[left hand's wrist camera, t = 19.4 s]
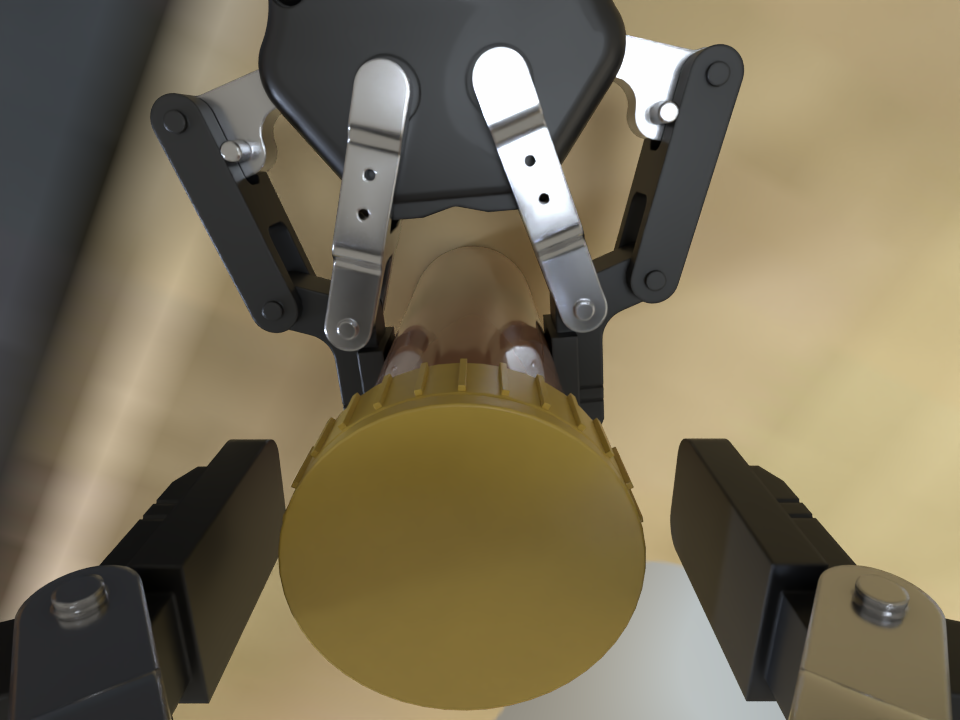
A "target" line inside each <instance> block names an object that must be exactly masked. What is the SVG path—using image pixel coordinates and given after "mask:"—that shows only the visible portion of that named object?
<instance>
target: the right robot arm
mask: <svg viewBox="0 0 960 720" xmlns="http://www.w3.org/2000/svg"><path fill="white" fill-rule="evenodd" d="M268 1H269V12H268V22H267V27H266V32H265V36H264V39H263V42H262V45H261V48H260V52H259V60H258V67H259V69H258V70H256V71H254V72H252V73H249V74H247V75H245V76H243V77H240V78H238V79H236V80H233V81H231V82H229V83H227V84H224V85H222V86H220V87H218V88H215V89H213V90H211V91H209V92H206V93H204V94H202V95H199V96H191V95H184V94H176V93H169V94H165V95H163V96H161V97H160V98H158V99H157V100H156V101H155V103H154V104H153V106H152V109H151V115H150V119H151V125H152V128H153V130H154V132H155V134H156V136H157V138H158V140H159V142H160V144H161V146H162V148H163V149H164V151H165V153H166V155H167V157H168V159H169V161H170V163H171V165H172V167H173V168H174V170H175V172H176V174H177V176H178V178H179V180H180V182H181V184H182V185H183V187H184V189H185V191H186V193H187V195H188V197H189V199H190V201H191V203H192V204H193V206H194V208H195V210H196V212H197V214H198V216H199V218H200V220H201V221H202V223H203V225H204V227H205V229H206V231H207V233H208V235H209V237H210V239H211V240H212V242H213V244H214V246H215V248H216V250H217V252H218V254H219V256H220V257H221V259H222V261H223V263H224V265H225V267H226V269H227V271H228V273H229V274H230V276H231V278H232V280H233V282H234V284H235V286H236V288H237V290H238V292H239V293H240V295H241V297H242V299H243V301H244V303H245V305H246V307H247V309H248V310H249V312H250V314H251V316H252V318H253V320H254V321H255V323H256V324H257V325H258V326H259V327H261V328H262V329H264V330H266V331H268V332H272V333H281V332H285V331H287V330H293V331H297V332H300V333H304V334H308V335H312V336H315V337H317V338H319V339H321V340H322V341H324V342H325V343H326V344H327V345H328V346H329V347H330V349H331V350H332V352H333V354H334V357H335V362H336V368H337V373H338V379H339V385H340V391H341V397H342V402H343V405H344V407H343V408H344V410H345V409H346V408H347V407H348V405H349V402H350V400H351V398H352V396H353V395H355V394H356V393H358V394H359V395H360V396H361V395H363V394H364V393H366V392H367V391H369V390H370V389H372V388H373V387H374V385H375V383H376V381H377V378H378V376H379V374H380V371H381V369H382V367H383V364H384V362H385V360H386V357H387V355H388V352H389V350H390V348H391V345H392V343H393V341H394V338H395V333H394V327H385V323H384V316H383V313H384V310H385V305H386V299H387V294H388V288H389V282H390V277H391V271H392V266H393V260H394V255H395V251H396V248H397V244H398V240H399V236H400V231H401V225H402V220H403V219H412V218H424V217H426V216H429V215H432V214H434V213H437V212H440V211H442V210H445V209H448V208H450V207H454V206H458V207H464V208H469V209H475V210H480V211H486V212H494V211H505V210H517V209H518V211H519V214H520V216H521V219H522V221H523V224H524V227H525V229H526V232H527V234H528V237H529V239H530V242H531V244H532V247H533V249H534V252H535V255H536V257H537V260H538V263H539V265H540V268H541V270H542V273H543V276H544V278H545V281H546V283H547V286H548V289H549V291H550V310H551V314H549V315H543V320H544V334H545V337H546V340H547V343H548V346H549V349H550V352H551V355H552V358H553V361H554V364H555V367H556V370H557V373H558V376H559V379H560V382H561V385H562V388H563V391H564V394H565V395H566V396H568V395H569V394H570V393H571V394H572V395H574V396H575V398H576V400H577V403H578V406H580V407H581V408H582V409H583V410H584V412H585V413H586V414H587V415H588V416H589V417H590V418H591V419H592V420H594V419H596V418H597V419H598V420H599V421H600V422H601V425H602V422H603V420H604V401H603V398H604V397H603V345H602V338H603V331H604V328H605V326H606V324H607V323H608V321H609V320H610V319H611V318H612V317H613V316H614V315H615V314H617V313H618V312H620V311H622V310H624V309H627V308H629V307H631V306H634V305H636V304H638V303H640V302H646V303H659V302H662V301H664V300H666V299H668V298H669V297H670V296H671V295H672V294H673V293H674V292H675V290H676V288H677V286H678V283H679V280H680V277H681V273H682V270H683V267H684V264H685V261H686V258H687V254H688V251H689V248H690V245H691V242H692V239H693V235H694V232H695V229H696V226H697V223H698V219H699V216H700V213H701V210H702V207H703V204H704V200H705V197H706V194H707V191H708V188H709V185H710V181H711V178H712V175H713V172H714V169H715V166H716V162H717V159H718V156H719V153H720V150H721V146H722V143H723V140H724V137H725V134H726V131H727V127H728V124H729V121H730V118H731V115H732V112H733V108H734V105H735V102H736V99H737V96H738V92H739V89H740V86H741V83H742V80H743V76H744V65H743V61H742V58H741V56H740V55H739V53H738V52H737V51H736V50H735V49H734V48H732V47H730V46H728V45H724V44H717V45H713V46H710V47H704V48H701V49H698V50H690V49H686V48H681V47H677V46H673V45H668V44H664V43H659V42H655V41H651V40H646V39H642V38H638V37H633V36H629V35H626V31H625V26H624V23H623V20H622V17H621V15H620V13H619V11H618V9H617V8H616V6H615V4H614V2H613V0H268ZM612 82H615V83H617V84H618V85H619V86H620V87H621V88H622V89H623V90H624V92H625V94H626V97H627V101H628V109H627V122H628V126H629V128H630V130H631V131H632V132H633V133H634V134H635V135H636V136H638V137H639V138H642V139H644V142H643V146H642V150H641V153H640V157H639V161H638V164H637V168H636V172H635V175H634V179H633V183H632V186H631V190H630V194H629V197H628V201H627V204H626V208H625V212H624V215H623V219H622V223H621V226H620V230H619V234H618V237H617V241H616V245H615V248H614V251H612V252H610V253H607V254H605V255H603V256H601V257H599V258H596V259H594V260H592V259H591V256H590V253H589V250H588V248H587V245H586V242H585V238H584V231H583V228H582V225H581V222H580V219H579V216H578V213H577V210H576V207H575V204H574V202H573V199H572V196H571V193H570V190H569V187H568V185H567V182H566V179H565V176H564V173H563V170H562V168H561V165H562V163H563V161H564V160H565V158H566V157H567V155H568V153H569V152H570V150H571V148H572V147H573V145H574V144H575V142H576V140H577V139H578V137H579V136H580V134H581V132H582V131H583V129H584V128H585V126H586V124H587V123H588V121H589V119H590V118H591V116H592V115H593V113H594V111H595V110H596V108H597V107H598V105H599V103H600V102H601V100H602V98H603V97H604V95H605V94H606V92H607V90H608V89H609V87H610V86H611V84H612ZM280 114H282V115H283V116H284V117H285V118H286V119H287V120H288V121H289V123H290V124H291V125H292V126H293V127H294V128H295V129H296V130H297V131H298V132H299V134H300V135H301V136H302V137H303V138H304V139H305V140H306V141H307V142H308V144H309V145H310V146H311V147H312V148H313V149H314V150H315V151H316V152H317V154H318V155H319V156H320V157H321V158H322V159H323V160H324V161H325V162H326V163H327V165H328V166H329V167H330V168H331V169H332V170H333V171H334V172H335V173H336V175H337V176H338V177H339V178H340V179H341V180H342V183H341V190H340V197H339V203H338V210H337V217H336V224H335V231H334V238H333V245H332V256H333V259H334V264H333V272H332V278H331V280H328V279H324V278H321V277H317V276H316V275H315V273H314V271H313V269H312V266H311V264H310V262H309V260H308V258H307V256H306V254H305V252H304V250H303V248H302V246H301V244H300V241H299V239H298V237H297V235H296V233H295V231H294V229H293V227H292V225H291V223H290V221H289V219H288V216H287V214H286V212H285V210H284V208H283V206H282V204H281V202H280V200H279V198H278V196H277V194H276V191H275V189H274V187H273V185H272V183H271V181H270V179H269V177H268V175H267V173H266V172H267V171H268V170H270V169H271V168H272V167H273V165H274V164H275V162H276V159H277V146H276V143H275V140H274V135H273V129H274V124H275V121H276V119H277V118H278V116H279V115H280Z"/></svg>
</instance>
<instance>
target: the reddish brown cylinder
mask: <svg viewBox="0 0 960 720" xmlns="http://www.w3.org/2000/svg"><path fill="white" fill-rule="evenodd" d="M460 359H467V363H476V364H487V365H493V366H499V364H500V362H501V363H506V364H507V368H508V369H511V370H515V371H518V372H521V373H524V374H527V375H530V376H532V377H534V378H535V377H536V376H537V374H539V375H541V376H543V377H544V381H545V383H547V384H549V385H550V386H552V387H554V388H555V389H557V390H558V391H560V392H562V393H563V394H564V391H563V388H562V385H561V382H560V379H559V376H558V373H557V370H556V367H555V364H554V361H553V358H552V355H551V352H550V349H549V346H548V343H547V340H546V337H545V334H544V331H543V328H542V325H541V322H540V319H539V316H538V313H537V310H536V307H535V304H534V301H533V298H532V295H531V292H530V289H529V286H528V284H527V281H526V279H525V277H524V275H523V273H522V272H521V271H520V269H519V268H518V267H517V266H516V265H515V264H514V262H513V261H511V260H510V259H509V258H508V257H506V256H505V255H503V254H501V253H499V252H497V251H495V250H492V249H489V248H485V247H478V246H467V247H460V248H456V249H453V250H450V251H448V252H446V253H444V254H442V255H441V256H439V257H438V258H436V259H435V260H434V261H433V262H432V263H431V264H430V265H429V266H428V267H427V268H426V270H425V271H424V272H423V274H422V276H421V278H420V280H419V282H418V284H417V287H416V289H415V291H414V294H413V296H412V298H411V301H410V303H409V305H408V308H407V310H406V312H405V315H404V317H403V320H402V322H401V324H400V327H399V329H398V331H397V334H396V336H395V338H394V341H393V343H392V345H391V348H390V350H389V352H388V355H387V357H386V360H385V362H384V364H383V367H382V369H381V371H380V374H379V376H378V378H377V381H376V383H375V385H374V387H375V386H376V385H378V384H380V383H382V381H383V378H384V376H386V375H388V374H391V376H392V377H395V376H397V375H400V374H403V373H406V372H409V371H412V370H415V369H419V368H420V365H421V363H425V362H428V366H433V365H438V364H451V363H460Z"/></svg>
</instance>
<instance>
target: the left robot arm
mask: <svg viewBox="0 0 960 720" xmlns="http://www.w3.org/2000/svg"><path fill="white" fill-rule="evenodd" d="M285 511H286V509H285V500H284V492H283V484H282V476H281V468H280V460H279V453H278V448H277V445H276V443H275V441H274V440H229V441H228V442H227V443H226V444H225V445H224V446H223V448H222V449H221V450H220V451H219V452H218V454H217V455H216V456H215V457H214V459H213V460H212V461H211V462H210V463H209V465H208V466H207V467H196V468H195V469H193V470H192V471H190V472H188V473H187V474H185V475H183V476H182V477H180V478H178V479H177V480H175V481H174V482H172V483H171V484H170V486H169V487H168V488H167V489H166V490H165V491H164V492H163V494H162V495H161V496H160V497H159V498H158V499H157V503H156V504H153V505H152V506H151V507H150V508H149V509H148V511H147V512H146V513H145V514H144V515H143V519H140V520H139V521H138V522H137V523H136V524H135V525H134V527H133V528H132V529H131V530H130V531H129V532H128V533H127V534H126V536H125V537H124V538H123V539H122V540H121V541H120V542H119V544H118V545H117V546H116V547H115V548H114V549H113V550H112V552H111V553H110V554H109V555H108V556H107V557H106V558H105V560H104V561H103V562H102V563H101V564H100V565H99V566H94V567H89V568H85V569H81V570H78V571H75V572H72V573H69V574H67V575H64V576H62V577H60V578H58V579H56V580H54V581H52V582H50V583H48V584H47V585H45V586H44V587H42V588H40V589H39V590H38V591H36V592H35V593H34V594H33V595H31V596H30V597H29V598H28V599H27V600H26V601H25V602H24V603H23V605H22V606H21V607H20V608H19V610H18V612H17V614H16V616H15V619H12V620H8V621H4V622H0V720H173V717H172V714H173V712H174V711H175V709H176V707H177V705H178V703H209V702H210V700H211V698H212V696H213V693H214V691H215V689H216V687H217V685H218V683H219V681H220V679H221V677H222V674H223V672H224V670H225V668H226V666H227V664H228V662H229V660H230V658H231V656H232V653H233V651H234V649H235V647H236V645H237V643H238V641H239V639H240V637H241V634H242V632H243V630H244V628H245V626H246V624H247V622H248V620H249V618H250V615H251V613H252V611H253V609H254V607H255V605H256V603H257V601H258V599H259V597H260V594H261V592H262V590H263V588H264V586H265V584H266V582H267V580H268V578H269V575H270V573H271V571H272V569H273V567H274V565H275V563H276V561H277V559H278V550H279V539H280V531H281V527H282V523H283V521H282V519H283V515H284V513H285ZM670 525H671V535H672V540H673V544H674V547H675V550H676V552H677V554H678V556H679V558H680V560H681V563H682V565H683V567H684V569H685V571H686V573H687V575H688V577H689V580H690V582H691V584H692V586H693V588H694V590H695V592H696V594H697V597H698V599H699V601H700V603H701V605H702V607H703V610H704V612H705V614H706V616H707V618H708V620H709V622H710V624H711V627H712V629H713V631H714V633H715V635H716V637H717V639H718V642H719V644H720V646H721V648H722V650H723V652H724V654H725V657H726V659H727V661H728V663H729V665H730V667H731V669H732V671H733V674H734V676H735V678H736V680H737V682H738V684H739V686H740V689H741V691H742V693H743V695H744V697H745V699H746V701H777V703H778V705H779V707H780V709H781V711H782V713H783V714H784V716H785V718H786V720H960V622H959V621H954V620H950V619H946V618H945V616H944V614H943V612H942V610H941V608H940V607H939V606H938V605H937V603H936V602H935V601H934V600H933V599H932V598H931V597H930V596H929V595H927V594H926V593H925V592H924V591H922V590H921V589H920V588H918V587H916V586H915V585H913V584H912V583H910V582H908V581H906V580H904V579H902V578H900V577H898V576H896V575H893V574H891V573H888V572H885V571H882V570H879V569H875V568H871V567H866V566H859V565H856V564H855V563H854V562H853V560H852V559H851V558H850V557H849V556H848V555H847V554H846V552H845V551H844V550H843V549H842V548H841V547H840V546H839V544H838V543H837V542H836V541H835V540H834V539H833V537H832V536H831V535H830V534H829V533H828V532H827V531H826V529H825V528H824V527H823V526H822V525H821V524H820V523H819V521H818V520H817V519H816V518H813V517H812V513H811V512H810V511H809V510H808V509H807V508H806V506H805V505H804V504H803V503H799V498H798V497H797V496H796V495H795V494H794V493H793V491H792V490H791V489H790V488H789V487H788V486H787V485H786V483H785V482H784V481H783V480H781V479H779V478H778V477H776V476H774V475H773V474H771V473H769V472H768V471H766V470H765V469H763V468H761V467H760V466H749V465H748V464H747V462H746V461H745V460H744V459H743V457H742V456H741V455H740V454H739V453H738V451H737V450H736V449H735V448H734V446H733V445H732V444H731V443H730V441H729V440H727V439H683V440H682V441H681V443H680V446H679V450H678V456H677V465H676V473H675V481H674V489H673V497H672V506H671V515H670Z"/></svg>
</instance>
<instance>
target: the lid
mask: <svg viewBox="0 0 960 720" xmlns="http://www.w3.org/2000/svg"><path fill="white" fill-rule="evenodd" d="M291 487H293V488H295V489H296V490H295V491H294V493H293V496H292V498H291V500H290V503H289V505H288V507H287V509H286V511H285V513H284V515H283V519H282V521H283V523H282V527H281V531H280V539H279V550H278V558H279V573H280V578H281V582H282V587H283V591H284V595H285V597H286V600H287V603H288V605H289V608H290V610H291V613H292V615H293V616H294V618H295V620H296V622H297V623H298V625H299V627H300V629H301V630H302V632H303V633H304V634H305V636H306V637H307V638H308V640H309V641H310V642H311V644H312V645H313V646H314V647H315V648H316V649H317V650H318V651H319V652H320V653H321V654H322V655H323V656H324V657H325V658H326V659H327V660H328V661H329V662H330V663H331V664H332V665H334V666H335V667H336V668H337V669H339V670H340V671H341V672H342V673H344V674H345V675H347V676H348V677H350V678H352V679H353V680H355V681H356V682H358V683H360V684H361V685H363V686H365V687H367V688H369V689H371V690H373V691H376V692H378V693H380V694H382V695H385V696H388V697H390V698H393V699H396V700H399V701H402V702H406V703H410V704H414V705H418V706H422V707H429V708H436V709H444V710H482V709H492V708H498V707H504V706H510V705H514V704H517V703H521V702H525V701H528V700H532V699H534V698H537V697H539V696H542V695H545V694H547V693H550V692H552V691H554V690H556V689H557V688H559V687H561V686H563V685H565V684H567V683H569V682H571V681H572V680H574V679H575V678H577V677H578V676H580V675H581V674H583V673H584V672H585V671H587V670H588V669H589V668H590V667H592V666H593V665H594V664H595V663H596V662H597V661H598V660H600V659H601V658H602V657H603V656H604V655H605V654H606V652H607V651H608V650H609V649H610V648H611V647H612V646H613V645H614V644H615V642H616V641H617V640H618V638H619V637H620V635H621V634H622V632H623V631H624V629H625V628H626V627H627V625H628V623H629V621H630V619H631V617H632V615H633V613H634V611H635V609H636V606H637V603H638V600H639V597H640V594H641V591H642V587H643V581H644V574H645V568H646V547H645V540H644V534H643V527H642V524H641V522H643V517H642V514H641V512H640V510H639V507H638V505H637V503H636V500H635V498H634V496H633V494H632V491H631V489H632V488H633V485H632V482H631V480H630V478H629V476H628V473H627V471H626V469H625V467H624V464H623V462H622V460H621V458H620V455H619V453H618V451H617V449H616V447H614V448H611V446H610V443H609V441H608V439H607V436H606V434H605V432H604V429H603V427H602V425H601V422H600V421H599V420H598V419H597V418H596V419H594V420H592V419H591V418H590V417H589V416H588V415H587V414H586V413H585V412H584V410H583V409H582V408H581V407H580V406H578V403H577V400H576V398H575V396H574V395H572V394H571V393H570V394H569V395H568V396H566V395H565V394H563V393H562V392H560V391H558V390H557V389H555V388H554V387H552V386H550V385H549V384H547V383H545V381H544V377H543V376H541V375H539V374H537V376H536V377H535V378H534V377H532V376H530V375H527V374H524V373H521V372H518V371H515V370H511V369H508V368H507V364H506V363H501V362H500V364H499V366H493V365H487V364H476V363H467V359H460V363H451V364H438V365H433V366H428V362H425V363H421V365H420V368H419V369H415V370H412V371H409V372H406V373H403V374H400V375H397V376H395V377H392V376H391V374H388V375H386V376H384V378H383V381H382V383H380V384H378V385H376V386H375V387H373V388H372V389H370V390H369V391H367V392H366V393H364V394H363V395H361V396H360V395H359V394H358V393H356V394H355V395H353V396H352V398H351V400H350V402H349V405H348V407H347V408H346V409H345V410H344V411H343V412H342V413H341V414H340V415H339V416H338V418H337V419H336V420H335V419H333V418H332V417H331V418H330V419H329V420H328V422H327V424H326V426H325V427H324V429H323V431H322V433H321V435H320V437H319V439H318V440H317V442H316V444H315V446H313V447H312V448H311V450H310V452H309V454H308V456H307V458H306V459H305V461H304V463H303V465H302V467H301V469H300V470H299V472H298V474H297V476H296V478H295V480H294V482H293V484H292V486H291Z"/></svg>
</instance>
